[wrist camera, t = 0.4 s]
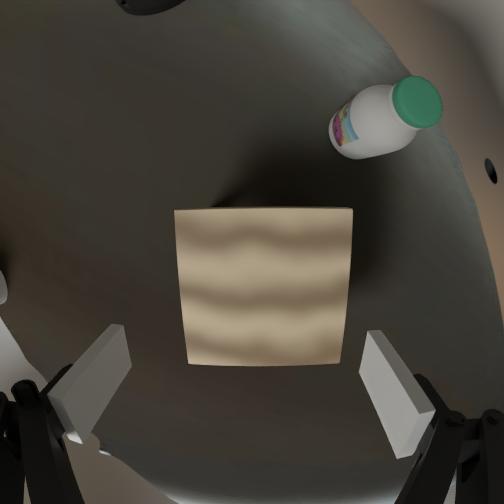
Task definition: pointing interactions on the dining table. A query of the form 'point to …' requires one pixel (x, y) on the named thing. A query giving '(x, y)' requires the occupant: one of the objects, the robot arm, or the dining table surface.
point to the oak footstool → (264, 283)
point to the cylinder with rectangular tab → (2, 289)
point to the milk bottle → (385, 117)
